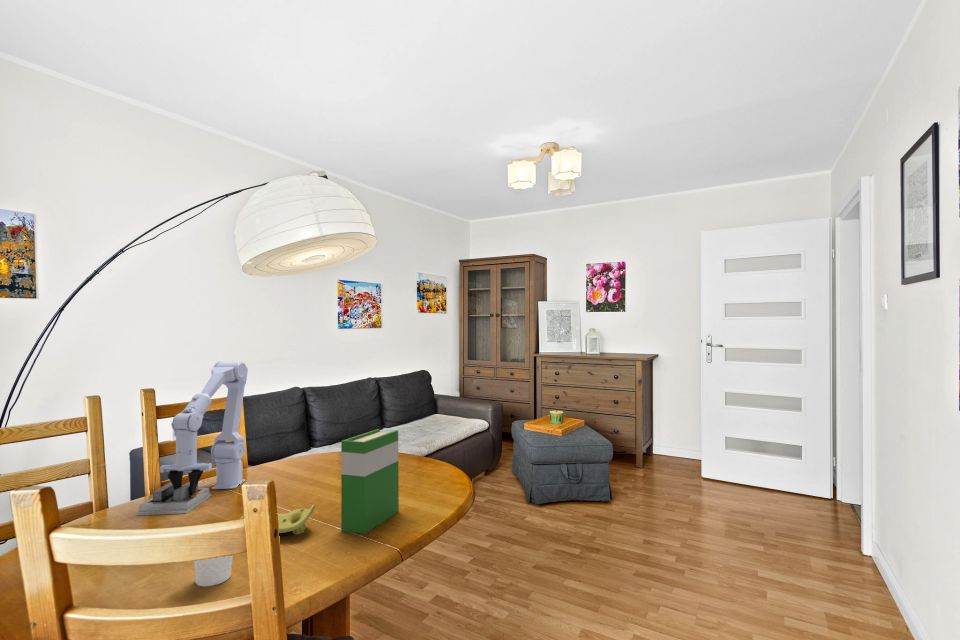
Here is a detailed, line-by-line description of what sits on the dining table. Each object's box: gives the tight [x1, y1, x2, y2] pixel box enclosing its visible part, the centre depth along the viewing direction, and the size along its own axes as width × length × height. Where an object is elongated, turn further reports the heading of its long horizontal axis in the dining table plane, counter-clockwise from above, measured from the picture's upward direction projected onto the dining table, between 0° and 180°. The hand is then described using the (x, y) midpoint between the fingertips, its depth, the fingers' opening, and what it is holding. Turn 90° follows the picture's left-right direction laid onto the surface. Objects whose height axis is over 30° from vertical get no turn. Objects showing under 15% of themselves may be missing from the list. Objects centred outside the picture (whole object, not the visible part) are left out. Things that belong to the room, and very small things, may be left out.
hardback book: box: [340, 428, 400, 535], centre depth 137 cm, size 18×7×24 cm, turn 159°
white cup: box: [193, 554, 234, 587], centre depth 104 cm, size 8×8×10 cm
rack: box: [136, 481, 212, 517], centre depth 151 cm, size 16×14×6 cm
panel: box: [174, 481, 199, 501], centre depth 152 cm, size 10×2×5 cm, turn 6°
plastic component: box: [239, 504, 316, 535], centre depth 130 cm, size 20×7×10 cm
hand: (185, 494), depth 152 cm, fingers open, 4 cm apart
